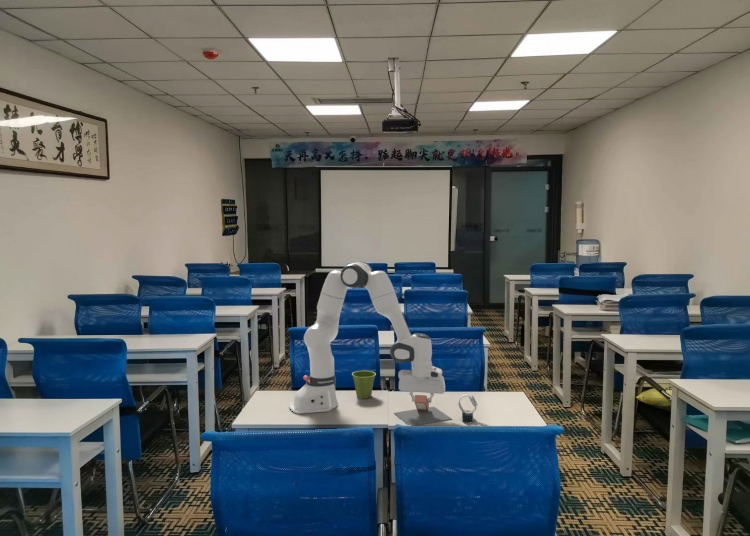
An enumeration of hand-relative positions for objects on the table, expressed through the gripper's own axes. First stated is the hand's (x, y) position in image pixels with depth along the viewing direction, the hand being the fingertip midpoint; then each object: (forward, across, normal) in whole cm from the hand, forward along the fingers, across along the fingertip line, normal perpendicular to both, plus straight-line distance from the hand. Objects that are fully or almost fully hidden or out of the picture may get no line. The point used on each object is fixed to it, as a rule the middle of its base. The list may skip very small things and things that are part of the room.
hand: (421, 401), depth 220 cm
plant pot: (+6, -31, +18) cm, 37 cm away
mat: (+6, +1, -2) cm, 6 cm away
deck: (+4, 0, +5) cm, 6 cm away
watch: (+6, +20, -2) cm, 21 cm away
